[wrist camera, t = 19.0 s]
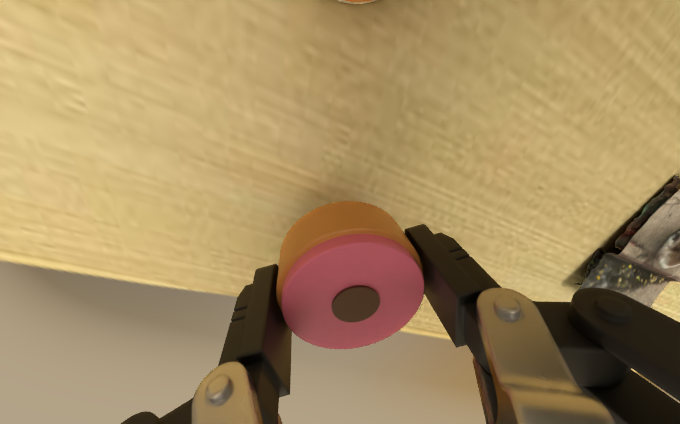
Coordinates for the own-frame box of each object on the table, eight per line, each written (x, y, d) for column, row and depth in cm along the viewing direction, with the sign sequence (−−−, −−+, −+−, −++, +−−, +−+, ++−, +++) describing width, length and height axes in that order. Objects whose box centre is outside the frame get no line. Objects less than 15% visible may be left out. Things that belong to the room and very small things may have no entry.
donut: (396, 184, 9) (428, 218, 7) (408, 284, 12) (435, 333, 9) (260, 221, 9) (247, 267, 7) (301, 313, 12) (302, 370, 9)
